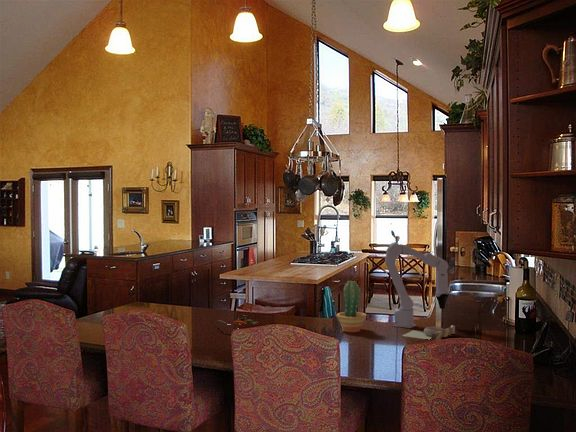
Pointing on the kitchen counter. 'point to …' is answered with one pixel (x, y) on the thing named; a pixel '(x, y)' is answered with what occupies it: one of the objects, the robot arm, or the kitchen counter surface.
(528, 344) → the kitchen counter surface
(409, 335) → the mat
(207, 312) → the kitchen counter surface
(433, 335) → the gate
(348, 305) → the potted cactus
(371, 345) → the kitchen counter surface
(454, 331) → the gate post
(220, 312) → the kitchen counter surface
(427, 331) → the donut
